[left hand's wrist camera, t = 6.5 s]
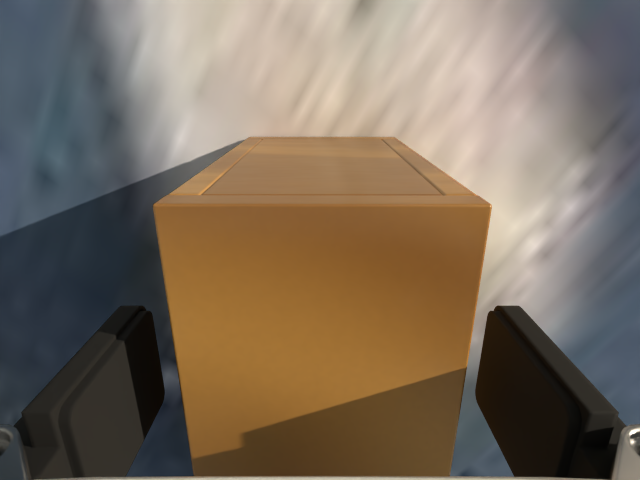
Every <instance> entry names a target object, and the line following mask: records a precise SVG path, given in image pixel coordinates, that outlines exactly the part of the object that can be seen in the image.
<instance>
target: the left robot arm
mask: <svg viewBox="0 0 640 480" xmlns="http://www.w3.org/2000/svg"><path fill="white" fill-rule="evenodd" d="M164 394H165V390H164V383H163V377H162V371H161V365H160V359H159V353H158V346H157V340H156V334H155V328H154V322H153V316H152V313H151V312H150V311H146V309H145V307H144V306H120V307H119V308H118V309H117V310H116V311H115V312H114V313H113V314H112V315H111V317H110V318H109V319H108V320H107V321H106V322H105V323H104V324H103V325H102V326H101V327H100V328H99V329H98V331H97V332H96V333H95V334H94V335H93V336H92V337H91V338H90V339H89V340H88V341H87V342H86V343H85V345H84V346H83V347H82V348H81V349H80V350H79V351H78V352H77V353H76V354H75V355H74V356H73V357H72V359H71V360H70V361H69V362H68V363H67V364H66V365H65V366H64V367H63V368H62V369H61V370H60V371H59V373H58V374H57V375H56V376H55V377H54V378H53V379H52V380H51V381H50V382H49V383H48V384H47V385H46V387H45V388H44V389H43V390H42V391H41V392H40V393H39V394H38V395H37V396H36V397H35V398H34V399H33V401H32V402H31V403H30V404H29V405H28V406H27V407H26V408H25V409H24V410H23V411H22V412H21V413H22V417H21V418H20V420H19V421H18V422H17V423H16V424H15V425H14V426H11V425H6V424H0V480H640V424H634V425H629V426H626V425H625V424H624V423H623V422H622V421H621V420H620V419H619V417H618V413H619V412H618V411H617V410H616V409H615V408H614V407H613V406H612V405H611V404H610V403H609V402H608V401H607V399H606V398H605V397H604V396H603V395H602V394H601V393H600V392H599V391H598V390H597V389H596V388H595V387H594V385H593V384H592V383H591V382H590V381H589V380H588V379H587V378H586V377H585V376H584V375H583V374H582V373H581V371H580V370H579V369H578V368H577V367H576V366H575V365H574V364H573V363H572V362H571V361H570V360H569V359H568V357H567V356H566V355H565V354H564V353H563V352H562V351H561V350H560V349H559V348H558V347H557V346H556V345H555V343H554V342H553V341H552V340H551V339H550V338H549V337H548V336H547V335H546V334H545V333H544V332H543V331H542V329H541V328H540V327H539V326H538V325H537V324H536V323H535V322H534V321H533V320H532V319H531V318H530V317H529V315H528V314H527V313H526V312H525V311H524V310H523V309H522V308H521V307H520V306H496V307H495V309H494V311H490V312H489V313H488V316H487V322H486V328H485V334H484V340H483V346H482V353H481V359H480V365H479V371H478V377H477V383H476V390H475V394H476V400H477V403H478V405H479V407H480V409H481V411H482V413H483V415H484V417H485V419H486V421H487V423H488V425H489V427H490V429H491V431H492V433H493V435H494V437H495V439H496V441H497V443H498V445H499V447H500V449H501V451H502V453H503V455H504V457H505V459H506V461H507V463H508V465H509V467H510V469H511V471H512V473H513V475H514V477H450V476H190V477H126V475H127V473H128V471H129V469H130V467H131V465H132V463H133V461H134V459H135V457H136V455H137V453H138V451H139V449H140V447H141V445H142V443H143V441H144V439H145V437H146V435H147V433H148V431H149V429H150V427H151V425H152V423H153V421H154V419H155V417H156V415H157V413H158V411H159V409H160V407H161V405H162V403H163V400H164Z"/></svg>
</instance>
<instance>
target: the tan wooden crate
mask: <svg viewBox="0 0 640 480" xmlns="http://www.w3.org/2000/svg"><path fill="white" fill-rule="evenodd" d="M491 209H492V206H491V204H490V203H488V202H487V201H485V200H484V199H483V198H481V197H480V196H477V195H476V194H474V193H473V192H472V191H470V190H469V189H467V188H466V187H464V186H463V185H462V184H460V183H459V182H457V181H456V180H455V179H453V178H452V177H450V176H449V175H447V174H446V173H445V172H443V171H442V170H440V169H439V168H437V167H436V166H435V165H433V164H432V163H430V162H429V161H428V160H426V159H425V158H423V157H422V156H420V155H419V154H418V153H416V152H415V151H413V150H412V149H411V148H409V147H408V146H406V145H405V144H403V143H402V142H401V141H399V140H398V139H396V138H395V137H249V138H247V139H246V140H245V141H243V142H242V143H240V144H239V145H237V146H236V147H235V148H233V149H232V150H230V151H229V152H228V153H226V154H225V155H223V156H222V157H220V158H219V159H218V160H216V161H215V162H213V163H212V164H211V165H209V166H208V167H206V168H205V169H203V170H202V171H201V172H199V173H198V174H196V175H195V176H194V177H192V178H191V179H189V180H188V181H187V182H185V183H184V184H182V185H181V186H179V187H178V188H177V189H175V190H174V191H172V192H171V193H170V194H168V195H166V196H164V197H163V198H161V199H160V200H159V201H157V202H156V203H154V204H153V212H154V218H155V225H156V231H157V238H158V245H159V251H160V258H161V264H162V271H163V277H164V284H165V291H166V297H167V304H168V310H169V317H170V323H171V330H172V337H173V343H174V350H175V356H176V363H177V369H178V376H179V382H180V389H181V396H182V402H183V409H184V415H185V422H186V428H187V435H188V442H189V448H190V455H191V461H192V468H193V474H194V476H450V471H451V465H452V458H453V452H454V446H455V439H456V433H457V426H458V420H459V414H460V407H461V401H462V395H463V388H464V382H465V375H466V369H467V363H468V356H469V350H470V343H471V337H472V331H473V324H474V318H475V311H476V305H477V299H478V292H479V286H480V279H481V273H482V267H483V260H484V254H485V247H486V241H487V235H488V228H489V222H490V215H491Z"/></svg>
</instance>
